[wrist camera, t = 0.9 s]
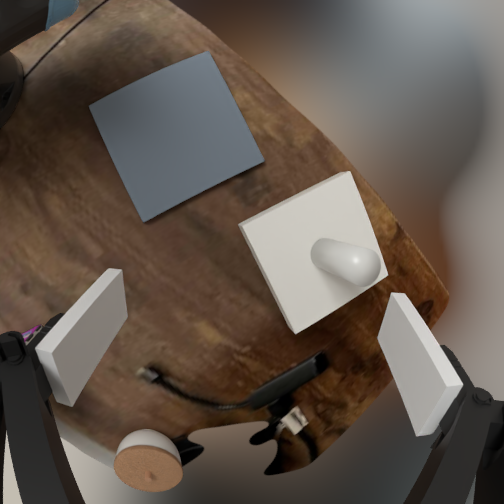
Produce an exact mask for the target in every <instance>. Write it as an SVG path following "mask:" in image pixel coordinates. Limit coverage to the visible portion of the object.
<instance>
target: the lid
mask: <svg viewBox="0 0 504 504" xmlns="http://www.w3.org/2000/svg"><path fill="white" fill-rule="evenodd" d="M238 226H239V228H240V230H241V232H242V234H243V236H244V238H245V240H246V242H247V244H248V246H249V248H250V250H251V252H252V254H253V256H254V258H255V260H256V262H257V264H258V266H259V268H260V270H261V272H262V274H263V276H264V278H265V280H266V282H267V284H268V286H269V288H270V290H271V292H272V294H273V296H274V298H275V300H276V302H277V304H278V306H279V308H280V310H281V312H282V314H283V316H284V318H285V320H286V322H287V324H288V326H289V328H290V329H291V330H292V331H293V332H294V333H295V334H297V333H298V332H300V331H302V330H304V329H305V328H307V327H309V326H310V325H312V324H313V323H315V322H317V321H318V320H320V319H322V318H323V317H325V316H327V315H328V314H330V313H331V312H333V311H335V310H336V309H338V308H339V307H341V306H342V305H344V304H346V303H347V302H349V301H350V300H352V299H353V298H355V297H356V296H358V295H359V294H361V293H363V292H364V291H366V290H367V289H369V288H370V287H372V286H373V285H375V284H376V283H377V282H379V281H380V280H382V279H383V278H385V277H386V276H388V273H387V270H386V267H385V263H384V260H383V257H382V254H381V251H380V249H379V246H378V243H377V240H376V237H375V234H374V231H373V229H372V226H371V223H370V220H369V218H368V215H367V212H366V210H365V207H364V205H363V202H362V199H361V197H360V194H359V192H358V189H357V187H356V184H355V182H354V180H353V177H352V175H351V172H350V171H347V172H340V173H338V174H336V175H334V176H332V177H330V178H328V179H326V180H324V181H322V182H320V183H318V184H316V185H314V186H312V187H310V188H308V189H306V190H304V191H302V192H300V193H298V194H296V195H294V196H292V197H290V198H288V199H286V200H284V201H282V202H280V203H278V204H276V205H274V206H272V207H270V208H268V209H267V210H265V211H263V212H261V213H259V214H257V215H255V216H253V217H251V218H249V219H247V220H245V221H243V222H241V223H239V224H238Z"/></svg>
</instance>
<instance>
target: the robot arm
mask: <svg viewBox="0 0 504 504" xmlns="http://www.w3.org/2000/svg"><path fill="white" fill-rule="evenodd" d="M78 5H79V0H0V128H1V127H2V126H3V125H4V124H5V123H6V121H7V120H8V119H9V117H10V116H11V114H12V113H13V111H14V109H15V107H16V105H17V103H18V100H19V98H20V95H21V91H22V86H23V69H22V65H21V63H20V61H19V60H18V58H17V57H16V56H15V55H14V54H13V53H11V52H10V51H9V50H11V49H13V48H14V47H16V46H17V45H19V44H21V43H22V42H24V41H26V40H27V39H29V38H31V37H33V36H34V35H36V34H38V33H40V32H42V31H47V30H48V29H49V28H50V27H51V26H53V25H55V24H57V23H58V22H60V21H62V20H64V19H66V18H68V17H69V16H71V15H72V14H73V13H74V12H75V11H76V9H77V7H78ZM127 318H128V314H127V307H126V299H125V291H124V282H123V273H122V270H120V269H112V268H108V269H107V270H106V271H105V272H104V273H103V274H102V275H101V276H100V277H99V278H98V279H97V281H96V282H95V283H94V284H93V285H92V286H91V287H90V288H89V289H88V290H87V291H86V292H85V293H84V294H83V295H82V296H81V297H80V298H79V299H78V301H77V302H76V303H75V304H74V305H73V306H72V307H71V308H70V309H69V310H68V311H67V312H66V314H63V313H60V314H58V315H56V316H54V317H53V318H51V319H50V320H49V321H48V322H47V323H46V324H45V327H43V328H42V329H41V330H40V332H38V333H37V334H36V335H35V337H34V338H33V339H32V340H31V341H30V342H29V343H28V344H27V346H26V343H25V340H24V338H23V335H22V334H21V333H19V332H15V331H10V332H6V333H3V334H1V335H0V504H3V468H4V467H3V466H4V452H5V440H6V430H7V435H8V442H9V448H10V453H11V458H12V463H13V468H14V472H15V476H16V481H17V484H18V488H19V492H20V496H21V499H22V503H23V504H85V502H84V500H83V497H82V495H81V493H80V490H79V488H78V486H77V483H76V481H75V478H74V475H73V473H72V470H71V468H70V465H69V462H68V459H67V456H66V454H65V451H64V448H63V445H62V442H61V439H60V435H59V432H58V429H57V426H56V422H55V419H54V415H53V411H52V408H51V404H50V402H49V399H48V397H49V396H50V394H51V393H52V392H53V395H54V397H55V399H56V401H57V402H59V403H62V404H65V405H68V406H71V407H73V405H74V403H75V401H76V400H77V398H78V396H79V395H80V393H81V391H82V390H83V388H84V386H85V385H86V383H87V381H88V380H89V378H90V376H91V375H92V373H93V371H94V370H95V368H96V366H97V365H98V363H99V362H100V360H101V358H102V357H103V355H104V353H105V352H106V350H107V349H108V347H109V346H110V344H111V342H112V341H113V339H114V338H115V336H116V335H117V333H118V331H119V330H120V328H121V327H122V325H123V324H124V322H125V321H126V319H127ZM377 339H378V341H379V343H380V346H381V348H382V350H383V353H384V355H385V357H386V360H387V362H388V365H389V367H390V369H391V372H392V374H393V377H394V379H395V381H396V384H397V386H398V389H399V392H400V394H401V397H402V399H403V401H404V404H405V407H406V409H407V412H408V415H409V417H410V420H411V423H412V425H413V428H414V431H415V434H416V436H422V435H428V434H433V432H434V431H435V429H436V428H437V426H438V425H440V427H441V430H442V432H441V433H440V435H439V436H438V438H437V439H436V440H435V442H434V443H433V445H432V446H431V448H433V449H432V451H431V453H430V455H429V458H428V459H427V462H426V464H425V465H424V468H423V469H422V471H421V473H420V475H419V477H418V479H417V481H416V483H415V484H414V486H413V488H412V490H411V491H410V493H409V495H408V497H407V498H406V500H405V502H404V503H403V504H465V502H466V499H467V497H468V494H469V491H470V489H471V486H472V483H473V481H474V478H475V475H476V482H475V493H474V502H473V504H504V401H497V400H494V399H493V397H492V396H491V394H490V393H489V392H488V391H486V390H484V389H482V388H478V387H476V388H475V387H474V385H473V384H472V382H471V380H470V378H469V377H468V375H467V374H466V372H465V370H464V369H463V368H462V367H461V364H460V362H459V361H458V359H457V358H456V356H455V355H454V353H453V352H452V351H451V350H450V349H449V348H447V347H446V346H445V345H439V344H438V343H437V341H436V339H435V338H434V336H433V335H432V333H431V331H430V330H429V328H428V327H427V325H426V324H425V322H424V321H423V319H422V318H421V316H420V315H419V313H418V312H417V310H416V309H415V308H414V306H413V305H412V303H411V302H410V300H409V299H408V297H407V296H406V295H405V293H391V295H390V299H389V302H388V306H387V309H386V312H385V316H384V319H383V322H382V325H381V328H380V331H379V334H378V338H377Z"/></svg>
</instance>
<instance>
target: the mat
mask: <svg viewBox="0 0 504 504" xmlns="http://www.w3.org/2000/svg"><path fill="white" fill-rule="evenodd" d="M89 108H90V111H91V113H92V115H93V118H94V120H95V122H96V125H97V127H98V129H99V131H100V134H101V136H102V138H103V140H104V143H105V145H106V147H107V149H108V151H109V154H110V156H111V158H112V160H113V162H114V164H115V166H116V169H117V171H118V173H119V175H120V177H121V179H122V181H123V183H124V185H125V187H126V189H127V191H128V193H129V195H130V197H131V199H132V201H133V203H134V205H135V207H136V209H137V211H138V213H139V215H140V217H141V219H142V221H143V223H144V222H146V221H147V220H149V219H151V218H153V217H155V216H157V215H158V214H160V213H162V212H164V211H166V210H168V209H170V208H171V207H173V206H175V205H177V204H179V203H181V202H183V201H185V200H187V199H189V198H191V197H192V196H194V195H196V194H198V193H200V192H202V191H204V190H206V189H208V188H210V187H212V186H214V185H216V184H218V183H220V182H222V181H224V180H226V179H228V178H230V177H232V176H234V175H237V174H239V173H241V172H243V171H245V170H247V169H249V168H251V167H253V166H255V165H258V164H260V163H262V162H264V161H265V160H264V158H263V156H262V154H261V152H260V150H259V148H258V146H257V144H256V142H255V140H254V138H253V136H252V134H251V132H250V130H249V128H248V126H247V124H246V122H245V120H244V118H243V116H242V114H241V112H240V110H239V108H238V106H237V104H236V102H235V100H234V98H233V96H232V94H231V92H230V90H229V88H228V87H227V85H226V83H225V81H224V79H223V77H222V75H221V73H220V71H219V69H218V68H217V66H216V64H215V62H214V60H213V58H212V56H211V55H210V53H209V51H206V52H204V53H201V54H198V55H195V56H193V57H190V58H188V59H185V60H183V61H180V62H178V63H175V64H173V65H170V66H168V67H166V68H163V69H161V70H159V71H157V72H154V73H152V74H150V75H148V76H146V77H143V78H141V79H139V80H137V81H135V82H133V83H131V84H129V85H127V86H125V87H123V88H121V89H119V90H117V91H115V92H113V93H111V94H109V95H107V96H106V97H104V98H102V99H100V100H98V101H96V102H95V103H93V104H91V105H89Z"/></svg>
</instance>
